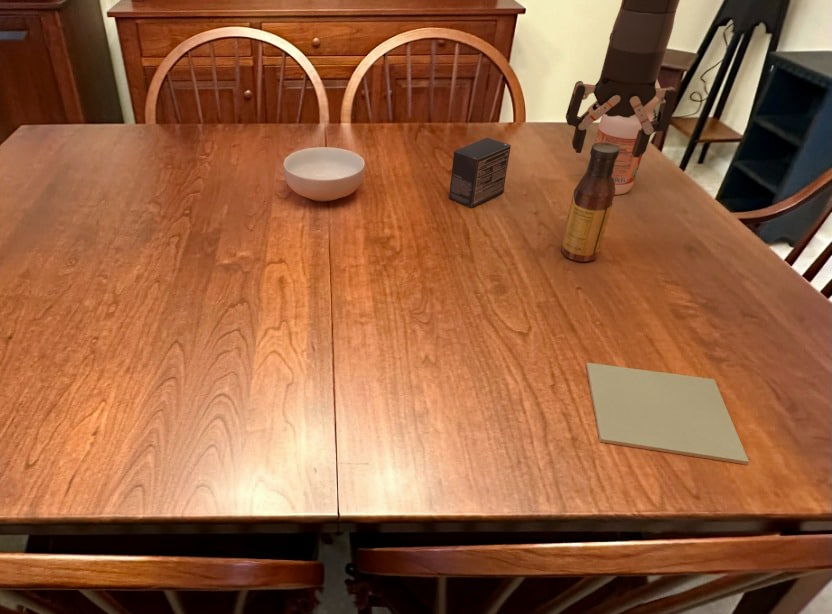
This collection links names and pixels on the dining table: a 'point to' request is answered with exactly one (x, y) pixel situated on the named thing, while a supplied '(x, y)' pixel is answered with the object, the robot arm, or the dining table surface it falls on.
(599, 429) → the mat
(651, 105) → the fruit juice
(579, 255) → the sauce bottle
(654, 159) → the dining table surface
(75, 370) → the dining table surface
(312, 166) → the cereal bowl
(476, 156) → the small box
